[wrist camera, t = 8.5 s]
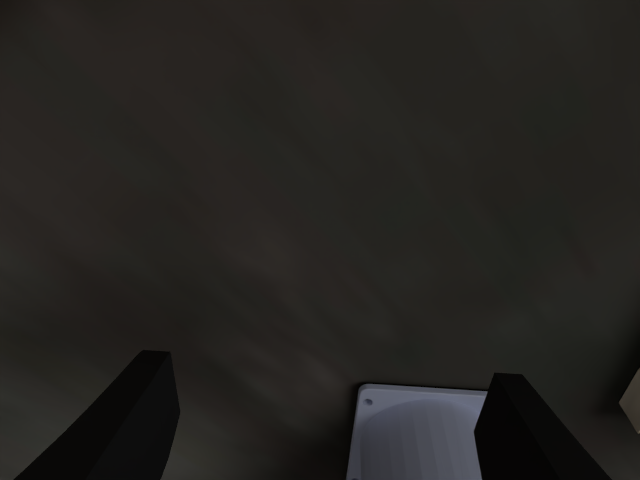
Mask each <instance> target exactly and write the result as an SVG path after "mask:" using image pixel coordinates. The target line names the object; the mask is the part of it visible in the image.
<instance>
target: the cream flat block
mask: <svg viewBox="0 0 640 480" xmlns="http://www.w3.org/2000/svg"><path fill="white" fill-rule="evenodd" d="M619 404H620V406H621V407H622V409H623V411H624V412H625V414H626V415H627V417H628V419H629V420H630V422H631V423H632V425H633V427H634V428H635V430H636V431H637V433H640V367H639V369H638V371H637V373H636V374H635V376H634V378H633V379H632V381H631V383H630V384H629V386H628V388H627V390H626V391H625V393H624V395H623V396H622V398H621V400H620V401H619Z"/></svg>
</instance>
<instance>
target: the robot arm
mask: <svg viewBox="0 0 640 480" xmlns="http://www.w3.org/2000/svg"><path fill="white" fill-rule="evenodd" d="M366 399H369V400H366ZM179 415H180V408H179V402H178V396H177V389H176V383H175V377H174V371H173V365H172V359H171V353H170V352H165V351H149V350H143V351H141V352H140V353H139V354H138V355H137V356H136V357H135V358H134V359H133V360H132V362H131V363H130V364H129V365H128V366H127V367H126V368H125V369H124V370H123V371H122V372H121V374H120V375H119V376H118V377H117V378H116V379H115V380H114V381H113V382H112V383H111V384H110V385H109V387H108V388H107V389H106V390H105V391H104V392H103V393H102V394H101V395H100V396H99V397H98V398H97V399H96V400H95V401H94V402H93V403H92V404H91V405H90V406H89V408H88V409H87V410H86V411H85V412H84V413H83V414H82V415H81V416H80V417H79V418H78V419H77V420H76V421H75V422H74V423H73V424H72V425H71V426H70V427H69V428H68V429H67V430H66V431H65V432H64V433H63V434H62V435H61V436H60V437H59V438H58V439H57V440H56V441H55V442H53V443H52V444H51V445H50V446H49V447H48V448H47V449H46V450H45V451H44V452H43V453H42V454H41V455H40V456H39V457H37V458H36V459H35V460H34V461H33V462H32V463H31V464H30V465H29V466H28V467H27V468H26V469H25V470H24V471H23V472H21V473H20V474H19V475H18V476H17V477H16V478H15V479H14V480H160V479H161V477H162V474H163V471H164V469H165V466H166V463H167V461H168V458H169V454H170V450H171V447H172V443H173V439H174V435H175V431H176V427H177V423H178V419H179ZM346 480H612V479H611V478H610V477H609V476H608V475H607V474H606V473H605V472H604V470H603V469H602V468H601V467H600V466H599V465H598V464H597V462H596V461H595V460H594V459H593V458H592V457H591V456H590V455H589V453H588V452H587V451H586V450H585V449H584V448H583V447H582V445H581V444H580V443H579V442H578V441H577V440H576V438H575V437H574V436H573V435H572V434H571V433H570V431H569V430H568V429H567V428H566V427H565V425H564V424H563V423H562V422H561V421H560V419H559V418H558V417H557V416H556V415H555V413H554V412H553V411H552V410H551V409H550V407H549V406H548V405H547V404H546V403H545V401H544V400H543V399H542V398H541V396H540V395H539V394H538V393H537V392H536V390H535V389H534V388H533V387H532V386H531V384H530V383H529V382H528V381H527V380H526V378H525V377H524V376H523V375H522V374H507V373H494V376H493V378H492V381H491V384H490V387H489V390H488V391H474V390H459V389H443V388H428V387H412V386H396V385H381V384H364V385H362V386H361V387H360V388H359V391H358V398H357V405H356V412H355V419H354V426H353V433H352V440H351V447H350V454H349V461H348V468H347V475H346Z"/></svg>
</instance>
